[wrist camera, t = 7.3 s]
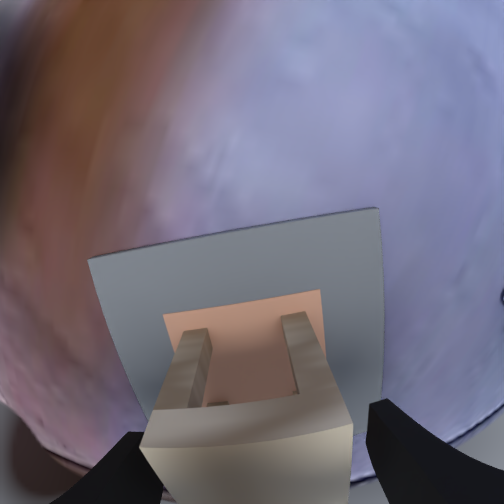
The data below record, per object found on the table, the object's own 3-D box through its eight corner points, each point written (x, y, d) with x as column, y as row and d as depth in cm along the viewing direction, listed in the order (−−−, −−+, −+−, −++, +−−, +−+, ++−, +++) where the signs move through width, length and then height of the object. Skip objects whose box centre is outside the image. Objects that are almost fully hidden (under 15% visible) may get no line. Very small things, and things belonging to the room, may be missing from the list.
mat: (373, 207, 12) (379, 208, 11) (375, 422, 14) (378, 429, 14) (92, 256, 12) (86, 260, 11) (169, 452, 15) (167, 458, 14)
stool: (305, 311, 12) (353, 423, 6) (315, 402, 13) (346, 512, 7) (183, 330, 12) (139, 447, 6) (212, 417, 13) (199, 529, 7)
